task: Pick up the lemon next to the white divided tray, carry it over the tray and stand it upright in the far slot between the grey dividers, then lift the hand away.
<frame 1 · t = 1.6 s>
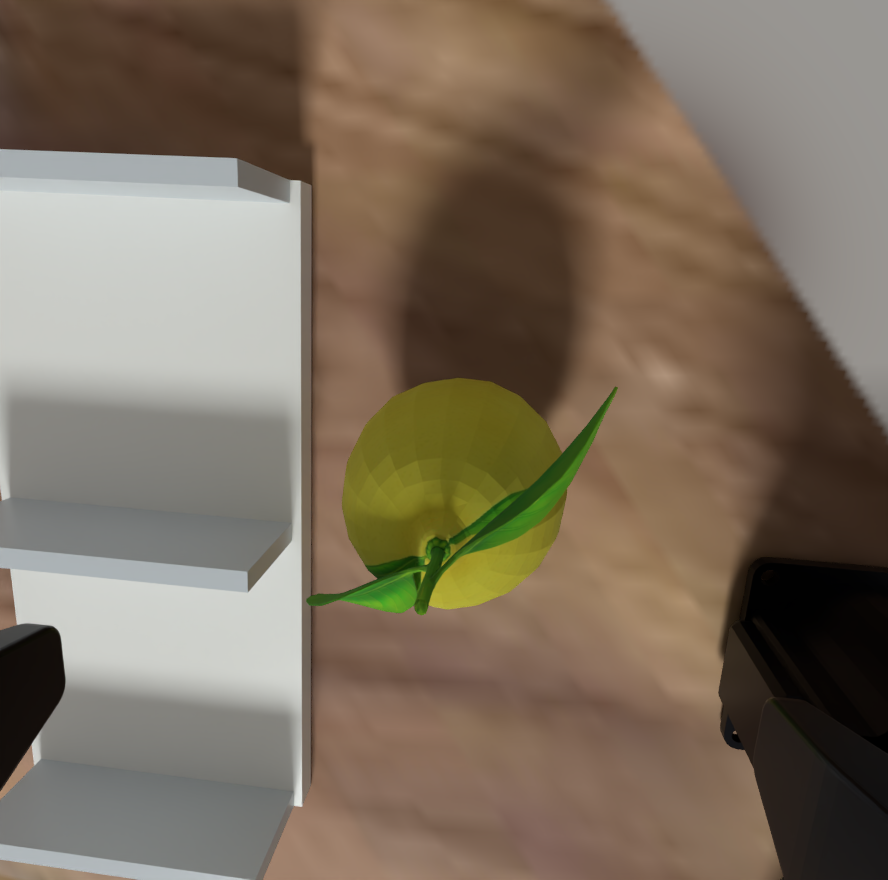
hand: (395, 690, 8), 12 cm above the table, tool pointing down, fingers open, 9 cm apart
white divided tray: (164, 507, 22), on the table
lemon: (469, 442, 20), on the table
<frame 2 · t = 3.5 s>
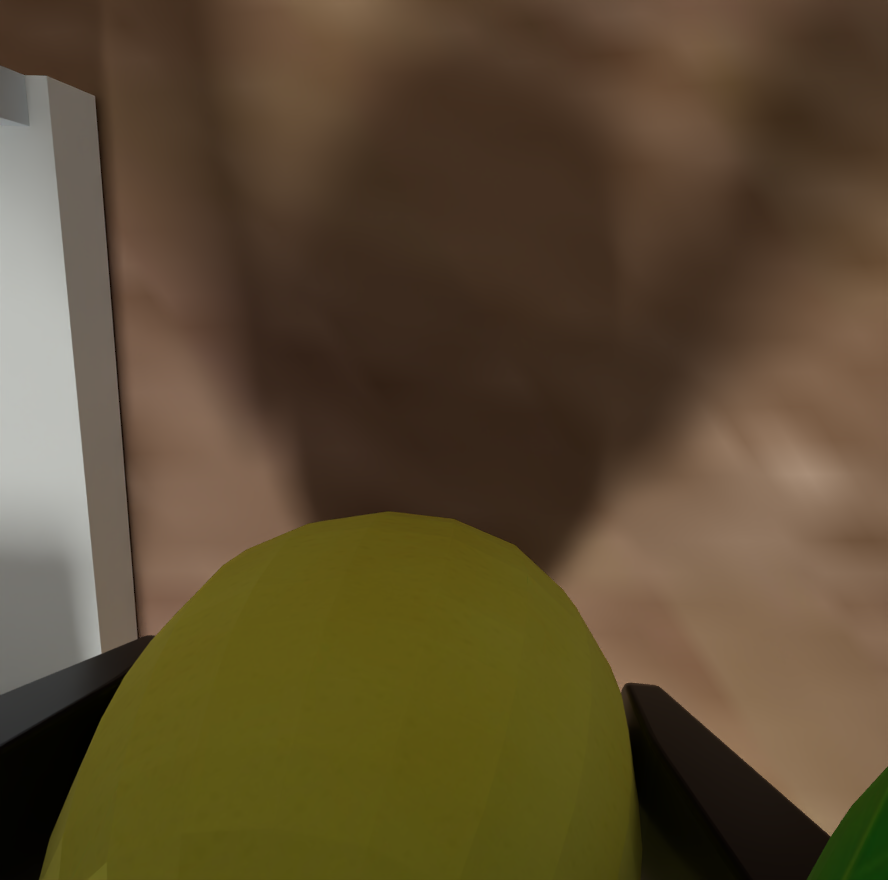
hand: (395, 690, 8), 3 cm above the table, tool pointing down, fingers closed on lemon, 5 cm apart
lemon: (425, 589, 11), on the table, touching gripper
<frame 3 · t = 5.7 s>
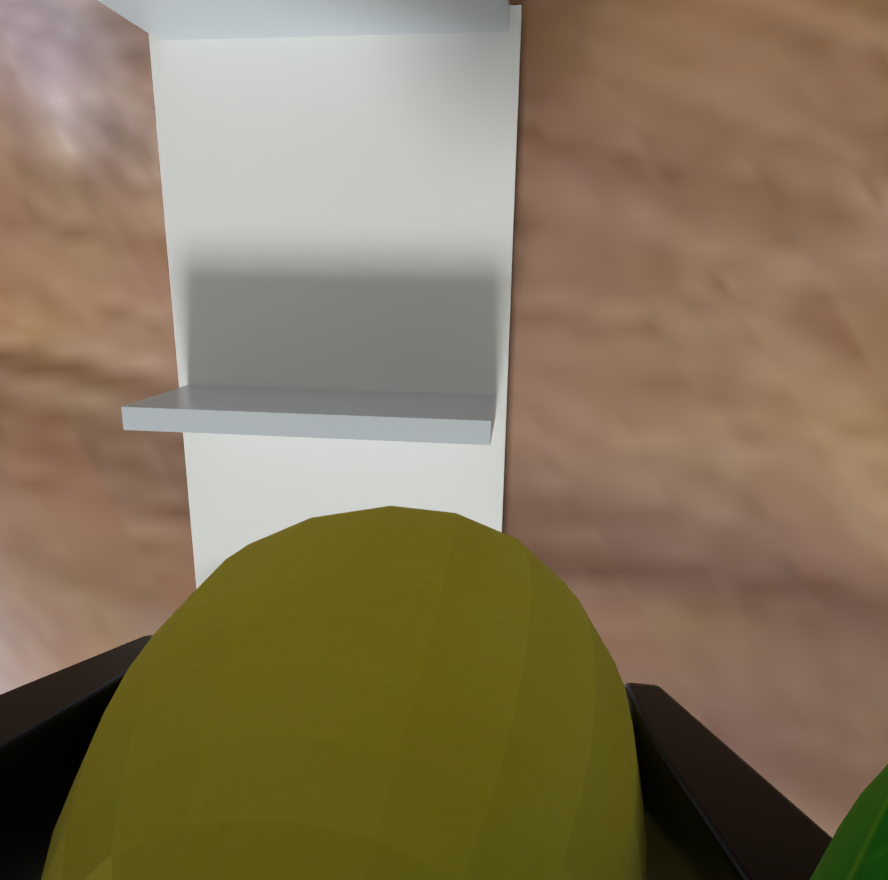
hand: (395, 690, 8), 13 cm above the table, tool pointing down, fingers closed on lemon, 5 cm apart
white divided tray: (347, 393, 21), on the table
lemon: (427, 585, 11), point 10 cm above the table, touching gripper
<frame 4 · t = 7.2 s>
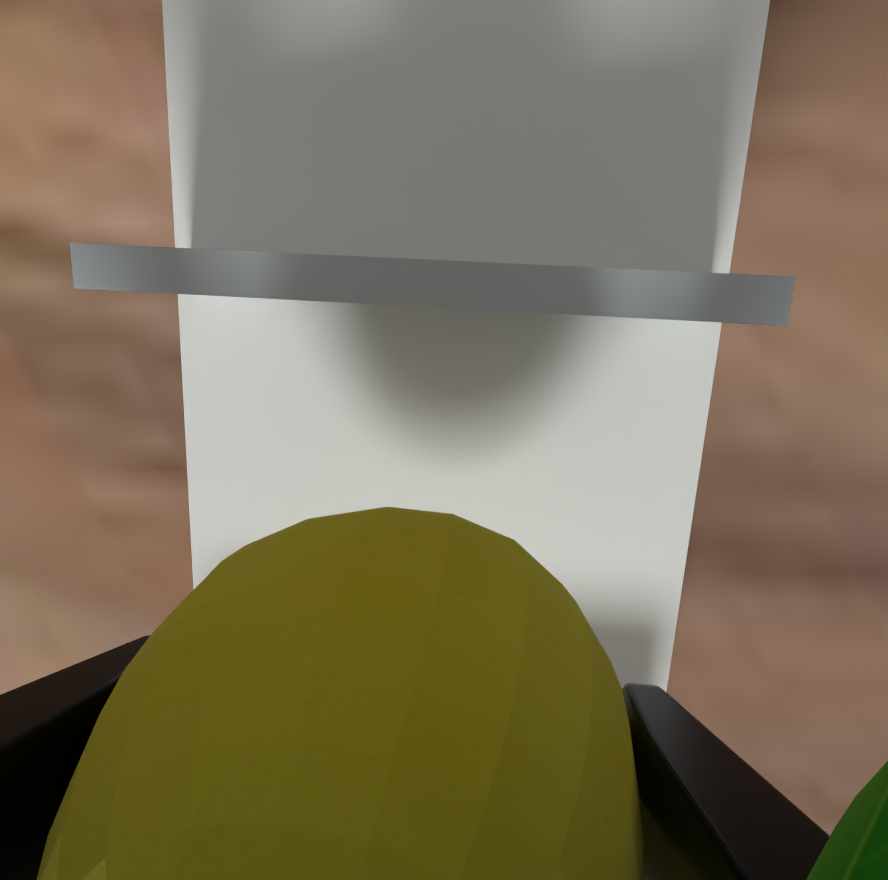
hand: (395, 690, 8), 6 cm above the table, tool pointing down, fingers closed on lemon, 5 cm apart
white divided tray: (446, 279, 13), on the table
lemon: (424, 586, 11), point 3 cm above the table, touching gripper
when the fingers open (5 cm above the table, at t = 8.3 s): lemon drops 1 cm, resting on white divided tray.
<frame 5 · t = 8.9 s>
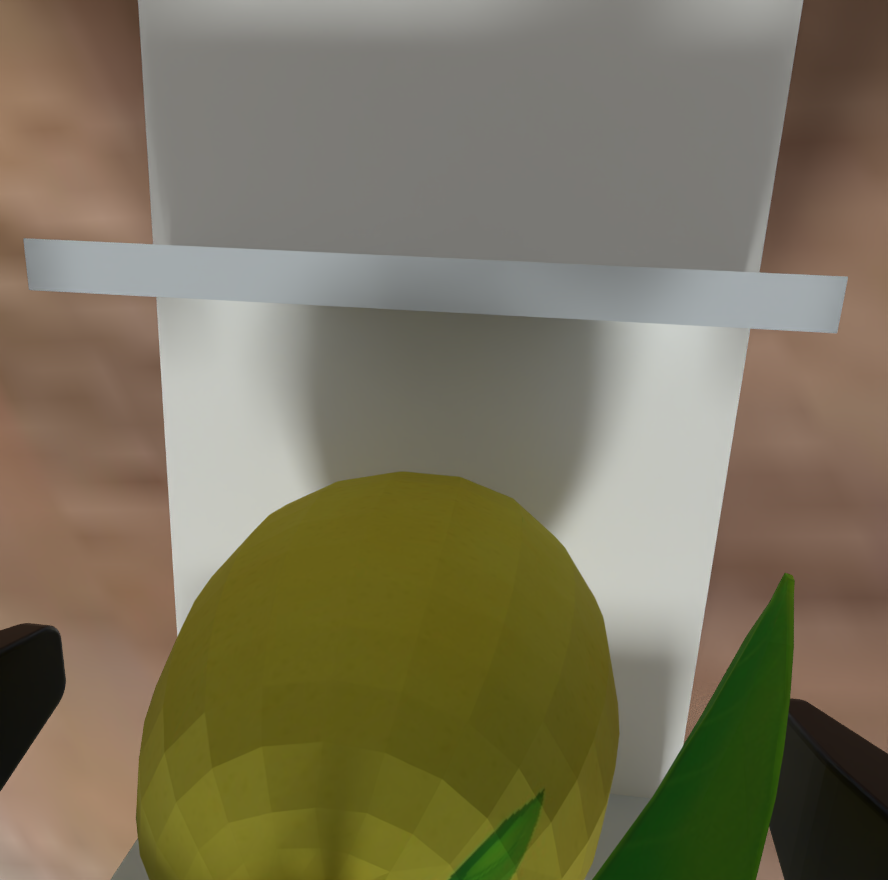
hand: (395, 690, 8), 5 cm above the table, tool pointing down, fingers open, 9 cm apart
white divided tray: (448, 279, 12), on the table
lemon: (436, 550, 12), point 1 cm above the table, touching white divided tray
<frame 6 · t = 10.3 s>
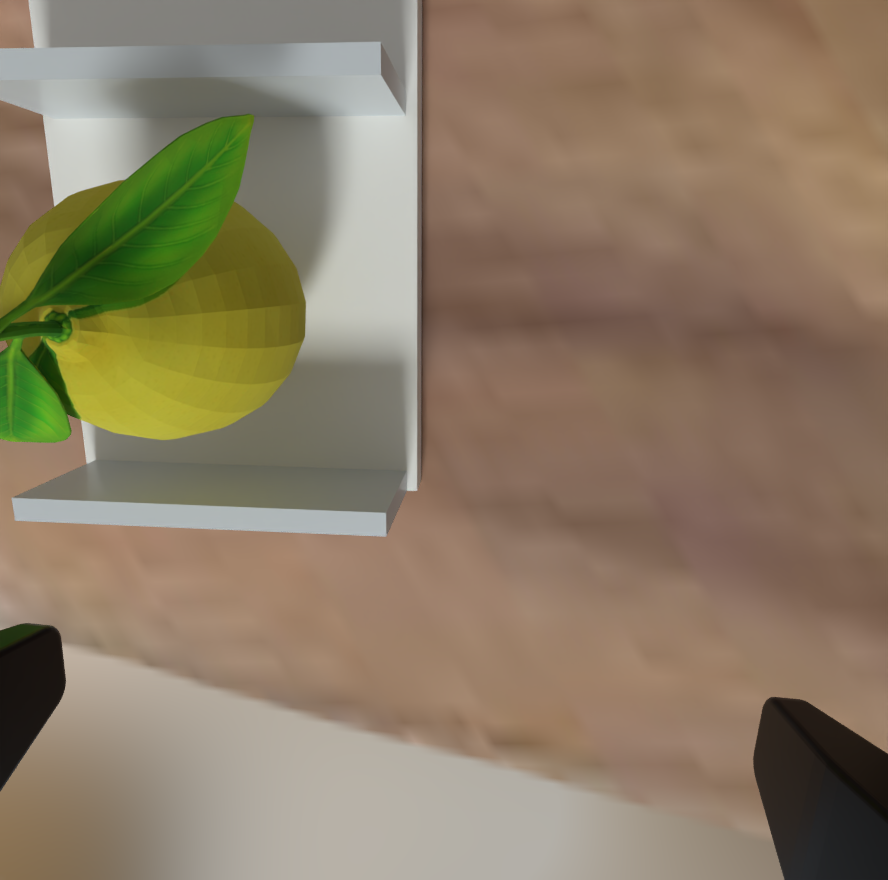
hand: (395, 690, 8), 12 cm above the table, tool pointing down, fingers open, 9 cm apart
white divided tray: (240, 113, 18), on the table
lemon: (243, 299, 18), point 1 cm above the table, touching white divided tray
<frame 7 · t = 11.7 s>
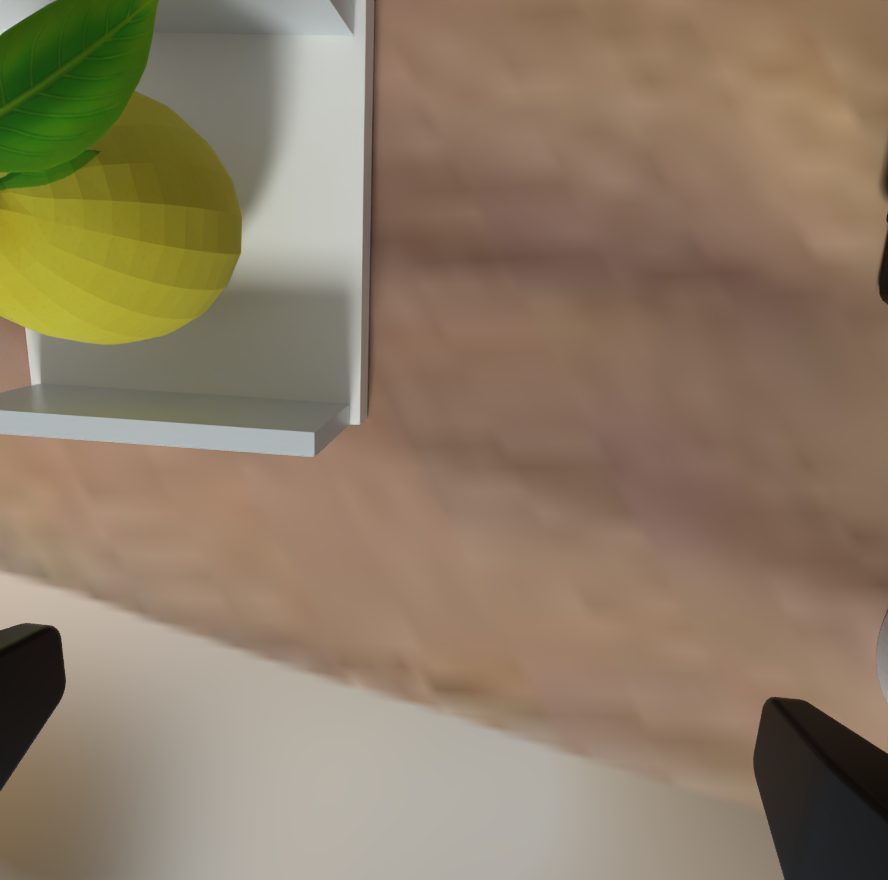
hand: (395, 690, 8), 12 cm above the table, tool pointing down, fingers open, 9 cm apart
white divided tray: (191, 33, 18), on the table
lemon: (189, 222, 18), point 1 cm above the table, touching white divided tray
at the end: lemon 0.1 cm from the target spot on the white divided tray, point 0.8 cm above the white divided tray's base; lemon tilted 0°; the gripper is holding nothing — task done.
